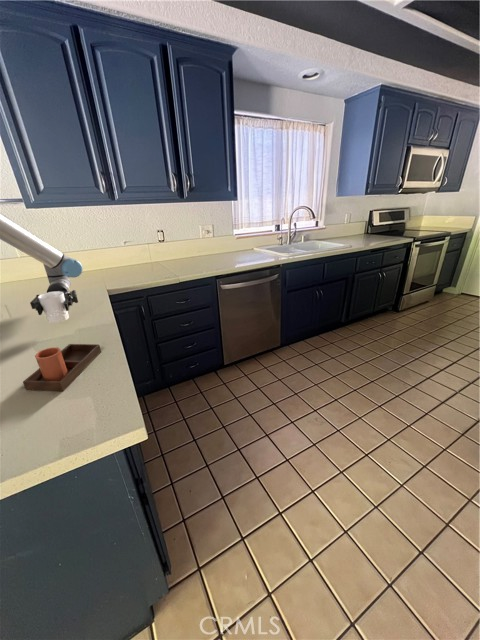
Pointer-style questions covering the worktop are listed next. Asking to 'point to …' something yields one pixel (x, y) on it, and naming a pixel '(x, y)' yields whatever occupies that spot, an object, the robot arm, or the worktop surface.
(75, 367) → the tray
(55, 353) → the terracotta cup
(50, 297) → the white cup
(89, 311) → the worktop surface
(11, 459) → the worktop surface
